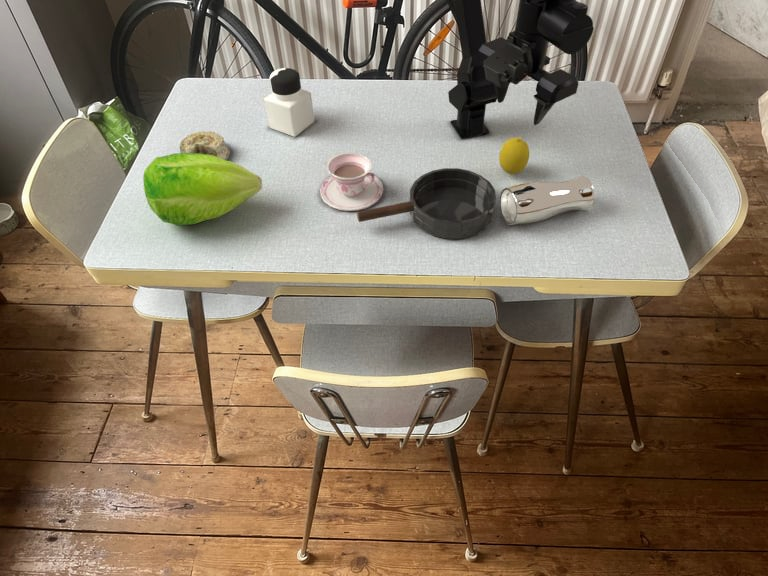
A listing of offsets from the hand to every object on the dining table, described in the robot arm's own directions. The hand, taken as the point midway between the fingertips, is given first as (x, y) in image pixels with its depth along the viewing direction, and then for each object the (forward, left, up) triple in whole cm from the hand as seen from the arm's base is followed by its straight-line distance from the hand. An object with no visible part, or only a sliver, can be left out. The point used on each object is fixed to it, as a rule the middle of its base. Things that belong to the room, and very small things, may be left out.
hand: (518, 112), depth 104 cm
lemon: (+2, 0, -12) cm, 12 cm away
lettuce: (-3, -58, -12) cm, 59 cm away
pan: (+9, -15, -12) cm, 22 cm away
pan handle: (+9, -28, -10) cm, 31 cm away
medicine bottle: (-28, -38, -12) cm, 49 cm away
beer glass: (+15, +8, -9) cm, 19 cm away
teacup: (-2, -31, -12) cm, 34 cm away
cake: (-22, -57, -12) cm, 63 cm away
